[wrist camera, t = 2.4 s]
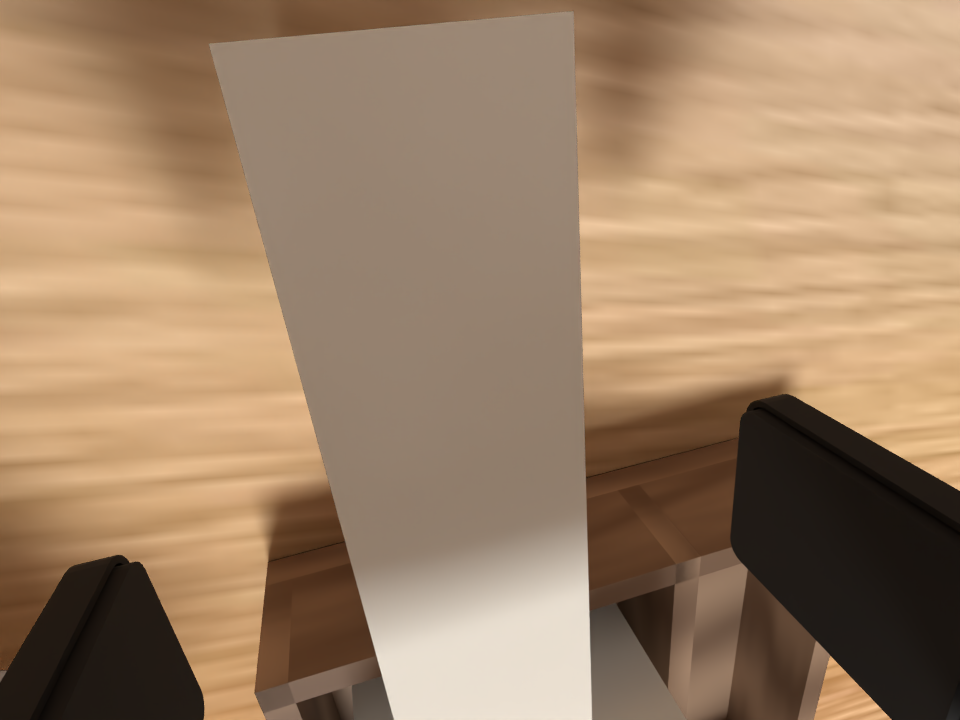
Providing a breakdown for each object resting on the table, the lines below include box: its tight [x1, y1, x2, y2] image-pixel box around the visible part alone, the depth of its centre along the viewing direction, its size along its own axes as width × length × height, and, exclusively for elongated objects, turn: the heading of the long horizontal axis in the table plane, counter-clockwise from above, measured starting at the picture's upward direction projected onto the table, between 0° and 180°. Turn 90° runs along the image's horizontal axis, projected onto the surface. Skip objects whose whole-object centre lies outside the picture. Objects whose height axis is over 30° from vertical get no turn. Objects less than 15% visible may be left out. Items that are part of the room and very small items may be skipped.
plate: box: [209, 11, 592, 720], centre depth 11 cm, size 12×3×10 cm, turn 6°
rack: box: [255, 438, 830, 720], centre depth 21 cm, size 18×18×4 cm
